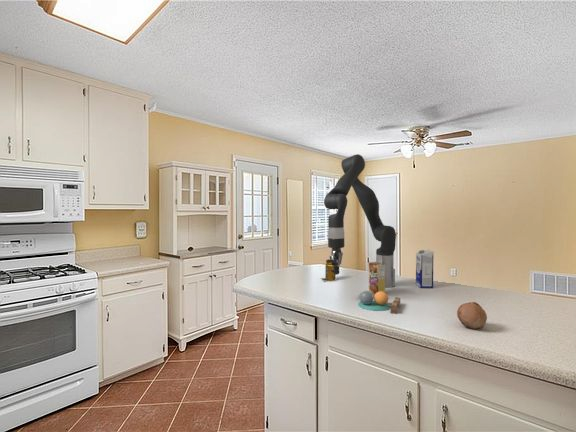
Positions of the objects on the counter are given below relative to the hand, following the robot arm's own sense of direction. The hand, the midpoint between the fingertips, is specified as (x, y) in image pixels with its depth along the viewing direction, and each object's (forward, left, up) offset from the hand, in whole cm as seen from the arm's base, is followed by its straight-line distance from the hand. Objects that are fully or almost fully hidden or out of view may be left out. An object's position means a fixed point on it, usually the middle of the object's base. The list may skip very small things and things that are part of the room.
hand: (336, 274), depth 149 cm
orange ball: (-17, +11, -9) cm, 22 cm away
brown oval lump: (-35, +42, -13) cm, 56 cm away
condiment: (-11, -40, -13) cm, 43 cm away
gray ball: (-11, +9, -9) cm, 17 cm away
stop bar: (-20, +17, -12) cm, 29 cm away
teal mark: (-13, +11, -12) cm, 21 cm away
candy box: (-24, -7, -13) cm, 28 cm away
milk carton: (-56, -13, -13) cm, 59 cm away
